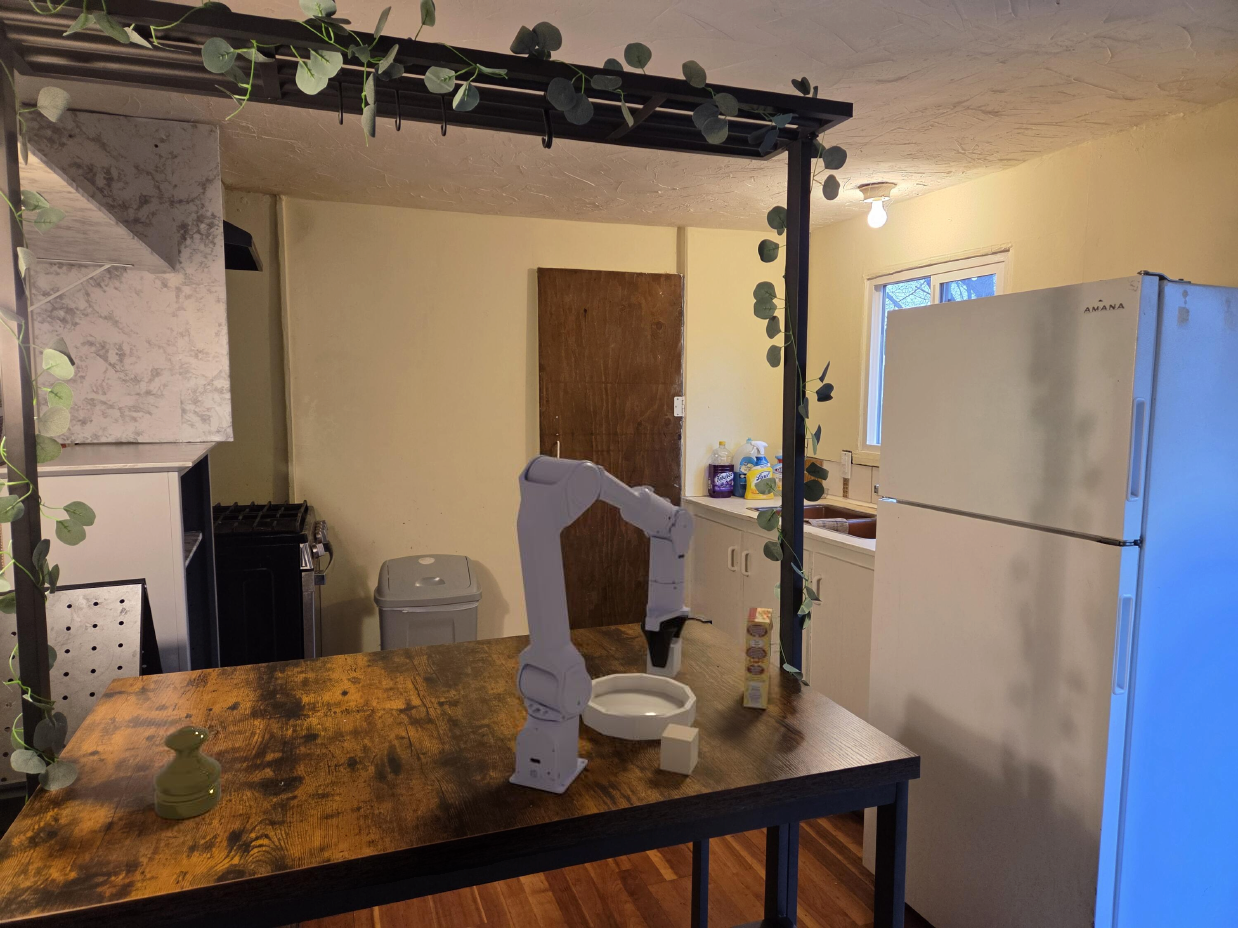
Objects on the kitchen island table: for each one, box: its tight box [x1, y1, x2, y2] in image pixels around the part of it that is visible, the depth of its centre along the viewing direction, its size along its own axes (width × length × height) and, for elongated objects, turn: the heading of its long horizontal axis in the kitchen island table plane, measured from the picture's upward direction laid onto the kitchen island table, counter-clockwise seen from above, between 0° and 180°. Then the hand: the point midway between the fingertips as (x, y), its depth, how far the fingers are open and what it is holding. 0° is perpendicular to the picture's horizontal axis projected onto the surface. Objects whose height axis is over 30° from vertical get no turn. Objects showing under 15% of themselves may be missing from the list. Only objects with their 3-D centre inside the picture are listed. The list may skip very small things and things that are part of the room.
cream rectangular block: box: [659, 724, 700, 776], centre depth 113 cm, size 4×4×5 cm
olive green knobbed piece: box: [153, 725, 223, 820], centre depth 98 cm, size 7×7×10 cm
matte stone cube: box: [646, 638, 683, 679], centre depth 127 cm, size 4×4×5 cm
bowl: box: [580, 672, 697, 741], centre depth 130 cm, size 18×18×4 cm
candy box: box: [743, 607, 773, 710], centre depth 137 cm, size 9×4×15 cm, turn 167°
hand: (663, 661), depth 127 cm, fingers closed on matte stone cube, 4 cm apart
